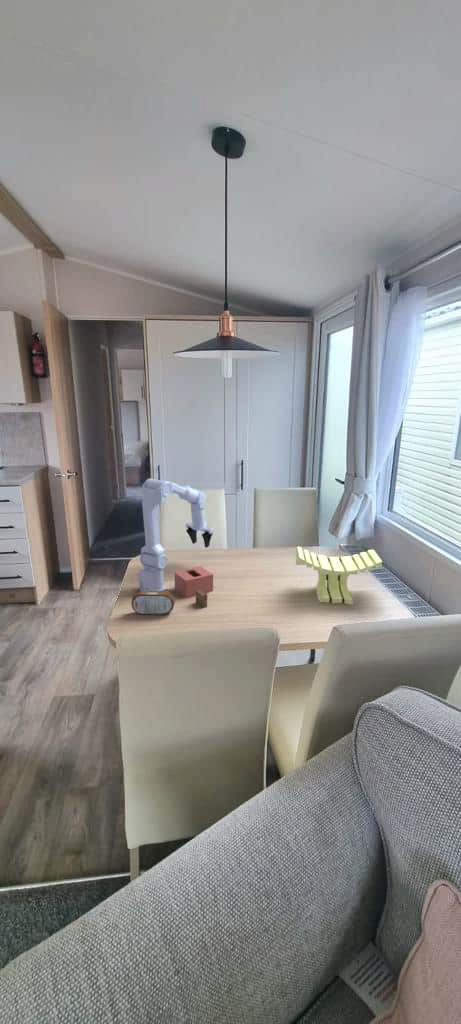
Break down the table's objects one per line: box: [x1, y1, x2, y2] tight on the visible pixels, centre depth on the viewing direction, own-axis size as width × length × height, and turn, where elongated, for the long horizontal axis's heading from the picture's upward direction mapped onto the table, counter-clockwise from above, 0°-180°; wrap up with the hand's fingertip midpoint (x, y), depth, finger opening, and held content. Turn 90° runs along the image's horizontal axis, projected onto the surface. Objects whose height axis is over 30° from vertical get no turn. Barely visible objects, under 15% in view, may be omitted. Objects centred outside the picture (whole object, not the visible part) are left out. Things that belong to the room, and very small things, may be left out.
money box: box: [173, 566, 214, 598], centre depth 173 cm, size 12×10×7 cm
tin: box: [131, 590, 176, 616], centre depth 153 cm, size 15×3×8 cm, turn 92°
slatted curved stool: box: [295, 546, 383, 605], centre depth 170 cm, size 30×16×18 cm, turn 86°
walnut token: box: [195, 589, 208, 609], centre depth 161 cm, size 2×5×5 cm, turn 34°
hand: (200, 544), depth 196 cm, fingers open, 7 cm apart
